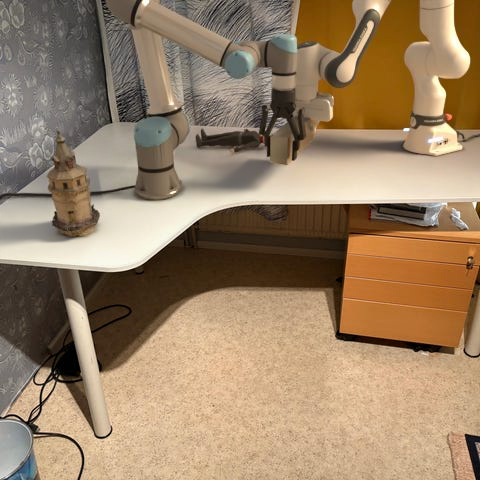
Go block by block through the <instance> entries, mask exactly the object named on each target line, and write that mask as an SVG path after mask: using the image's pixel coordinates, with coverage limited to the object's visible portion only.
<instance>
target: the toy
mask: <svg viewBox="0 0 480 480" xmlns="http://www.w3.org/2000/svg"><path fill="white" fill-rule="evenodd" d="M271 135H272V134H270V135H269V136H271ZM195 144H196V145H195V146H196V148H198V149H199V148H202V147H210V148H211V147H231V149H230V151H229V152H230V153H231V154H233V155H234V154H237V153H240V152H241V151H244V150H247V149H251V150H257V149H259V148H260V147H261V145H262V144H263V145H264V136H263V135H260V134H259V132H258V131H256V130H249V129H248V128H243V131H242V130H241V131H240V130H234V131H227V132H222V133H216V134H207V133H206V131H205V129H204V128H203V127H202V128H201V129H200V134H198V133H196V134H195Z"/></svg>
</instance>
